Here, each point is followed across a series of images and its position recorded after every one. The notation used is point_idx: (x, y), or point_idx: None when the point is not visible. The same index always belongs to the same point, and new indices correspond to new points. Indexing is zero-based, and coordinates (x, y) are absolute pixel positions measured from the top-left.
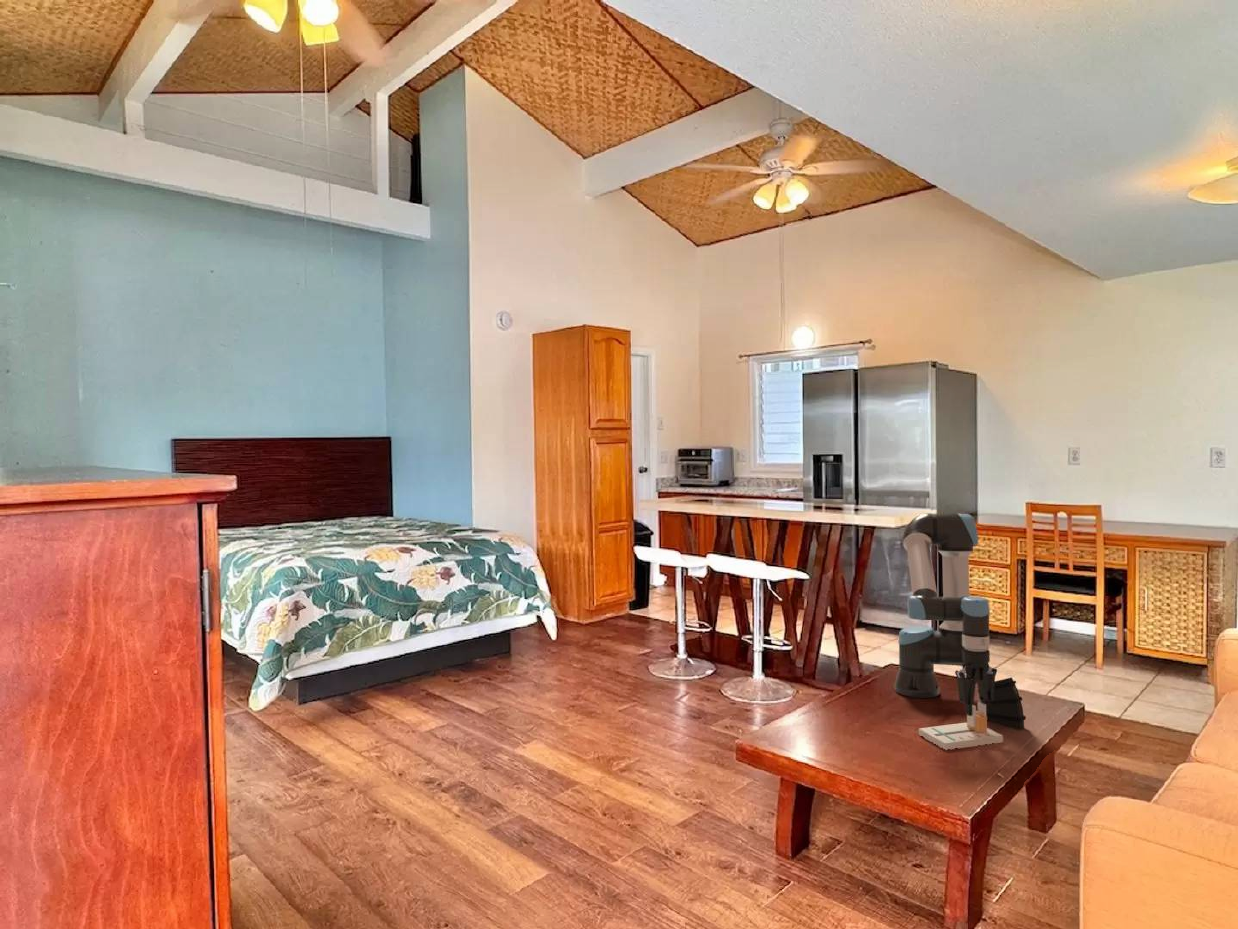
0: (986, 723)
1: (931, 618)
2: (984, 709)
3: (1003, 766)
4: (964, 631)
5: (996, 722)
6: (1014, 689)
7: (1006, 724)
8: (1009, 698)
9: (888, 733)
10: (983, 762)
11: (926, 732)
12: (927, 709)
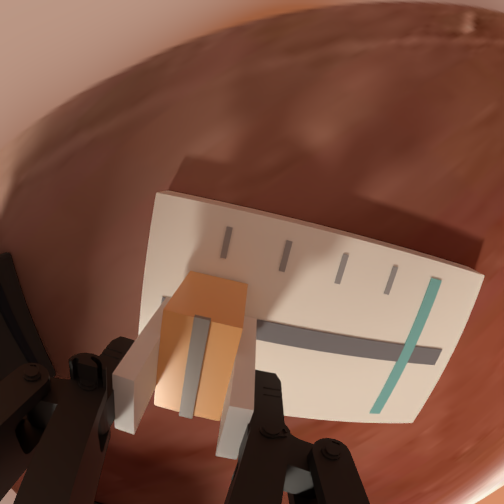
0: (181, 289)
1: None
2: (143, 355)
3: (412, 35)
4: None
5: (38, 339)
6: None
7: (22, 304)
8: None
9: (447, 435)
10: (450, 102)
11: (432, 388)
12: (171, 496)
